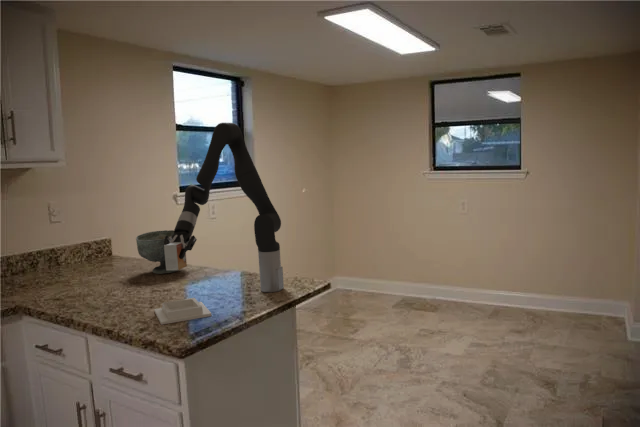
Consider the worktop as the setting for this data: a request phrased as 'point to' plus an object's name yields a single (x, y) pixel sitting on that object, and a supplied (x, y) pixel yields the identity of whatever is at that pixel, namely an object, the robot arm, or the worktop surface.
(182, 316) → the off-white tray
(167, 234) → the decorative bowl
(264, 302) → the worktop surface
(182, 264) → the small box
